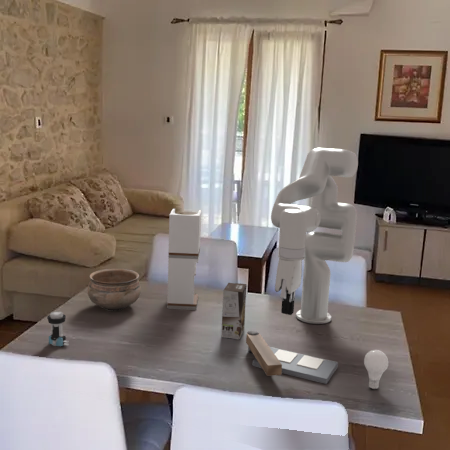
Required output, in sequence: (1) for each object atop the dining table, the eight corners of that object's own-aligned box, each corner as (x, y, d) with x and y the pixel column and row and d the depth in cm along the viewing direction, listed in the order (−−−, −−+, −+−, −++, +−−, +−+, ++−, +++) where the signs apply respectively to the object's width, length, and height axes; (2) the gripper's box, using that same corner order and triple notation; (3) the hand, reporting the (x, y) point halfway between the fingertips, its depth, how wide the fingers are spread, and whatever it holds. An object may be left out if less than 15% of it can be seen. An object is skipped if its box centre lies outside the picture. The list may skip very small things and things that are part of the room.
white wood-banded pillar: (196, 309, 210) (199, 215, 203) (167, 308, 210) (169, 214, 203) (198, 299, 221) (201, 210, 214) (170, 298, 222) (172, 208, 214)
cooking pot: (110, 293, 223) (110, 263, 221) (153, 301, 217) (154, 270, 214) (71, 314, 201) (71, 280, 198) (118, 323, 194) (118, 289, 191)
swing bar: (257, 339, 178) (257, 330, 178) (281, 374, 156) (281, 364, 155) (244, 340, 177) (245, 331, 177) (267, 375, 155) (267, 365, 154)
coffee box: (240, 339, 185) (242, 292, 182) (220, 337, 186) (222, 289, 183) (244, 329, 194) (247, 283, 191) (226, 327, 195) (228, 281, 192)
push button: (73, 343, 177) (72, 312, 175) (63, 350, 172) (62, 318, 170) (54, 339, 179) (54, 309, 177) (44, 346, 174) (43, 315, 172)
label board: (267, 350, 178) (267, 345, 177) (337, 367, 169) (338, 361, 168) (252, 365, 167) (252, 359, 167) (326, 383, 158) (326, 377, 158)
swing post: (249, 349, 178) (250, 341, 178) (256, 350, 177) (257, 342, 177) (246, 352, 176) (247, 343, 176) (254, 353, 175) (254, 345, 175)
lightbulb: (358, 382, 159) (362, 345, 157) (380, 382, 160) (384, 345, 158) (365, 394, 153) (369, 355, 151) (388, 394, 154) (393, 355, 151)
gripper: (287, 245, 172) (283, 303, 176) (269, 256, 159) (265, 318, 163) (311, 249, 169) (307, 308, 173) (295, 260, 156) (291, 324, 160)
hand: (287, 313), depth 168 cm, fingers closed
